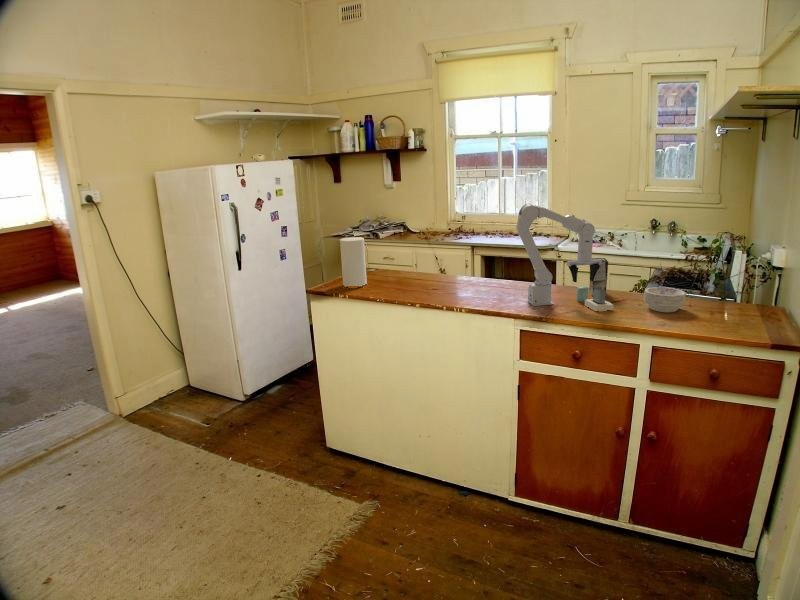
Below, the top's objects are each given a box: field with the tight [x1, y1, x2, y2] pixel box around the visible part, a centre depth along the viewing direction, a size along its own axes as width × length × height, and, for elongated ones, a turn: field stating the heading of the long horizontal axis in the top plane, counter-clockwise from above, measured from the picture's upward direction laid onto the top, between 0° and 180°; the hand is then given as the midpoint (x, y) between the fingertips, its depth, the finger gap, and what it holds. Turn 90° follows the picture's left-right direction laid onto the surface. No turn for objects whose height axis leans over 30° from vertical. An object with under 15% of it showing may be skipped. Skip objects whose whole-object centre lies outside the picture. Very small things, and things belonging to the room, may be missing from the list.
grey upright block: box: [576, 285, 589, 303], centre depth 232 cm, size 4×4×6 cm
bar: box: [592, 288, 607, 304], centre depth 221 cm, size 2×5×8 cm, turn 8°
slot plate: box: [584, 298, 614, 312], centre depth 222 cm, size 8×10×2 cm
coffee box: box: [588, 257, 609, 297], centre depth 241 cm, size 9×6×16 cm
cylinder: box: [339, 236, 368, 286], centre depth 274 cm, size 12×12×25 cm
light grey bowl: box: [643, 286, 687, 313], centre depth 215 cm, size 15×15×8 cm
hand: (583, 281), depth 228 cm, fingers open, 7 cm apart
